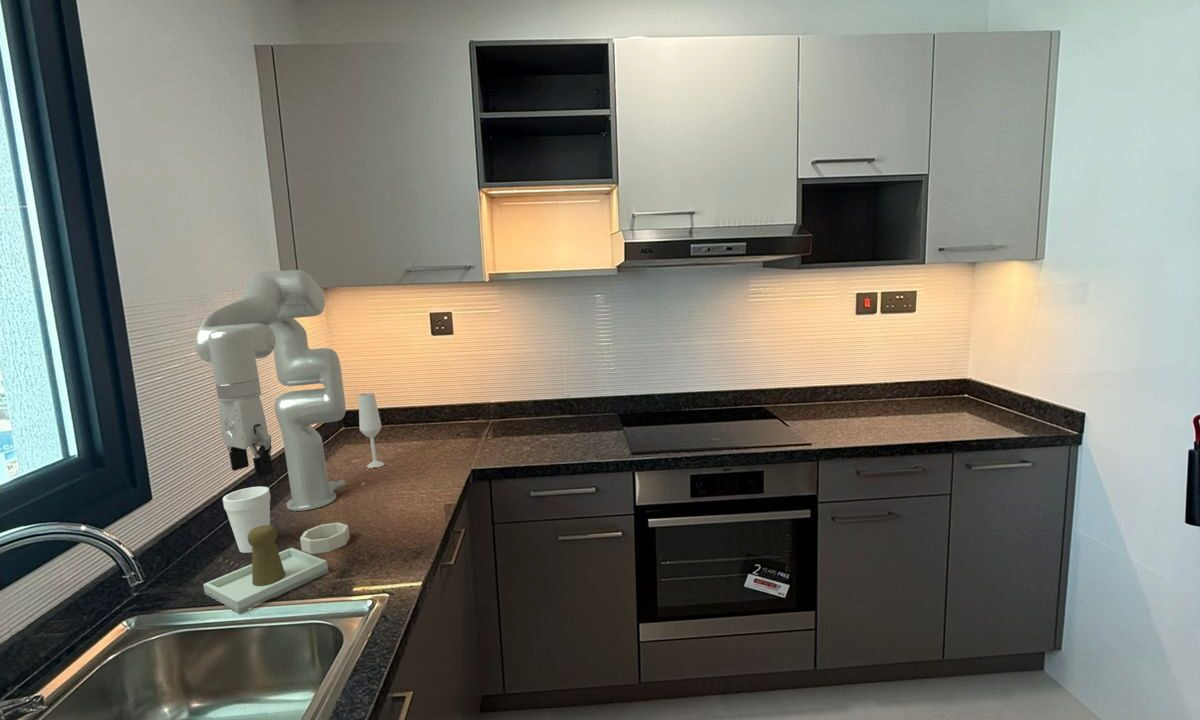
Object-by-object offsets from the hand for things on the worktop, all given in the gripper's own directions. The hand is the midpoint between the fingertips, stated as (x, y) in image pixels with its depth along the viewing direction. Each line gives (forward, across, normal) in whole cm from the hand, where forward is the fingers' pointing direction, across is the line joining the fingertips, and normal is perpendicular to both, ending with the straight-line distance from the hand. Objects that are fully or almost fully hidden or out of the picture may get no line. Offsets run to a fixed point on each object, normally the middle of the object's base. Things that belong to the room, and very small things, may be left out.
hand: (252, 471), depth 127 cm
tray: (+23, +4, -2) cm, 23 cm away
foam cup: (+23, -18, +6) cm, 30 cm away
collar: (+23, -3, +15) cm, 28 cm away
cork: (+22, +4, -2) cm, 22 cm away
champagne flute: (+24, -45, +58) cm, 77 cm away
